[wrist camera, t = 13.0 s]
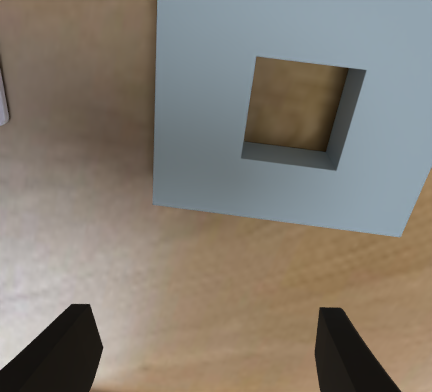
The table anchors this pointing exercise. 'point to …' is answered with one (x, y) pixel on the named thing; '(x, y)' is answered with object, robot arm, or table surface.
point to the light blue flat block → (286, 156)
